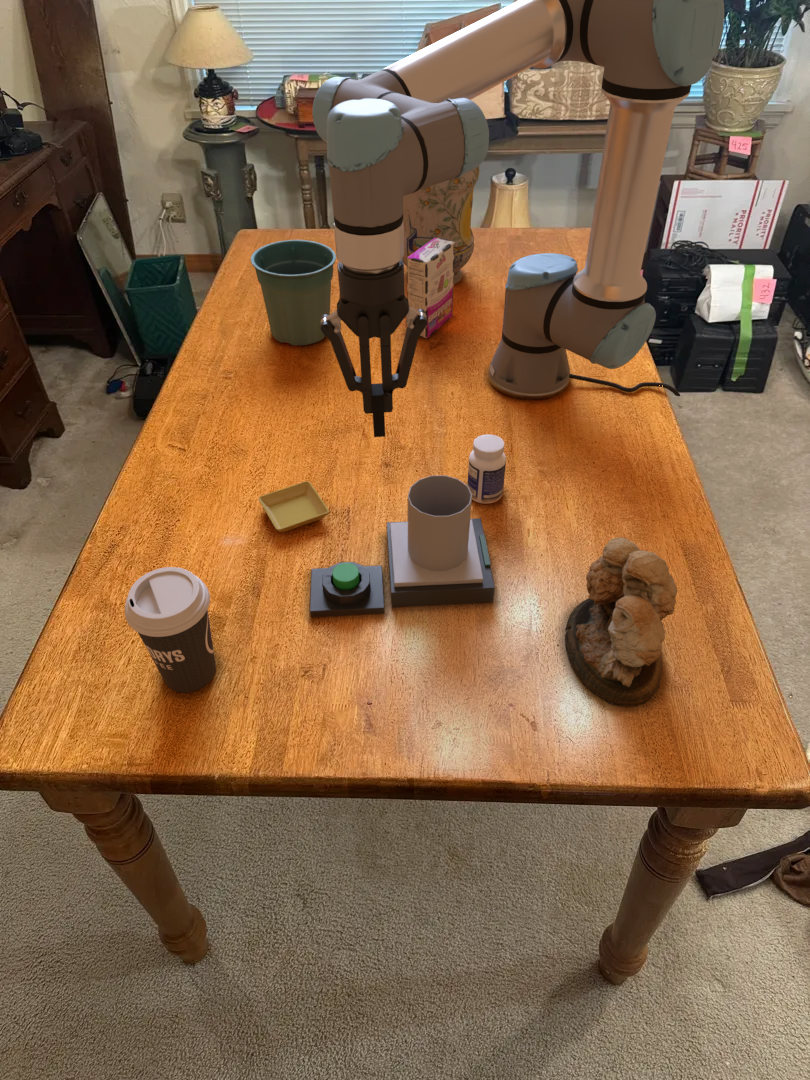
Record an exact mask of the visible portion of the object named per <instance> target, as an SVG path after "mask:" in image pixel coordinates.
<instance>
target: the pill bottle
mask: <svg viewBox="0 0 810 1080" xmlns="http://www.w3.org/2000/svg"><path fill="white" fill-rule="evenodd" d="M504 451H505V441H504V440H503V439H502V437H500V436H498V435H495V434H491V433H490V434H488V433H486V434H481V435H479V436H477V437H475V438H474V440H473V442H472V450H471V451H470V453H469V456H468V469H467V470H468V471H467V484H466V485H467V486H468V487H469V489H470V492H471V494H472V501H474V502H476V503H478V504H484V505H485V504H486V505H488V504H493V503H496V502H497V501H499V500H500V499H501V498H502V496H503V494H504V487H505V478H506V477H505V476H506V468H507V467H506V466H507V456H506V454H505V452H504Z"/></svg>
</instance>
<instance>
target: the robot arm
mask: <svg viewBox="0 0 810 1080" xmlns="http://www.w3.org/2000/svg"><path fill="white" fill-rule="evenodd" d="M724 26H725V3H724V0H513V2H512V3H511V4H510V5H507V6H505V7H504V8H502V9H500V10H498V11H495V12H493V13H491V14H490V15H488V16H486V17H484V18H482V19H480V20H477V21H476V22H474V23H471V24H470V25H467V26H466V27H463V28H462V29H460V30H458V31H455V32H454V33H452V34H450V35H447V36H445V37H444V38H442V39H440V40H438V41H436V42H434V43H432V44H429V45H428V46H425V47H424V48H422V49H420V50H418V51H416V52H414V53H412V54H410V55H408V56H406V57H403V58H402V59H400V60H398V61H396V62H394V63H392V64H390V65H388V66H386V67H384V68H382V69H380V70H378V71H376V72H373V73H371V74H369V75H367V76H364V77H362V78H360V79H355V78H354V77H351V76H333V77H330V78H328V79H327V80H325V81H324V82H323V83H322V84H321V86H319V88H318V90H317V91H316V94H315V95H314V99H313V103H312V111H311V112H312V113H311V114H312V121H313V126H314V129H315V131H316V133H317V134H318V136H319V138H320V139H321V140H322V141H323V142H325V143H326V159H327V164H328V172H329V173H328V174H329V183H330V194H331V203H332V215H333V231H334V232H333V233H334V243H335V254H336V260H337V261H338V263H337V267H336V268H337V278H338V290H339V299H338V300H337V303H336V309H335V310H334V311H333V312H330V315H327V314H324V315H322V316H321V331H322V333H323V334H324V335H325V338H326V339H328V341H329V342H330V345H331V347H332V350H333V352H334V356H335V358H336V360H337V363H338V365H339V368H340V371H341V373H342V376H343V379H344V382H345V384H346V387H347V390H348V391H350V392H356V391H357V392H360V393H361V394H362V406H363V407H362V408H363V412H364V415H367V414H368V415H369V414H372V426H373V427H372V428H373V438H385V437H386V420H385V413H392V412H393V409H394V402H393V401H394V399H393V393H394V391H395V390H396V389H405V388H406V387H407V384H408V381H409V378H410V377H409V376H410V373H411V370H412V364H413V361H414V357H415V353H416V350H417V346H418V341H419V338H420V334H421V333H422V332H423V330H424V329H425V327H426V326H427V318H426V313H425V311H424V310H423V309H419V310H416V309H414V308H412V307H410V306H409V302H408V297H407V296H406V294H405V293H406V292H405V291H406V290H405V286H406V285H405V264H404V261H403V260H402V258H403V256H404V231H403V199H404V196H405V195H408V194H411V193H414V192H416V191H418V190H421V189H424V188H427V187H430V186H433V185H436V184H439V183H442V182H445V181H448V180H451V179H457V178H459V177H461V175H463V174H465V173H467V172H469V171H471V170H474V169H476V168H477V167H478V166H479V167H480V165H482V164H483V162H484V160H485V158H486V156H487V155H488V151H489V144H490V129H489V124H488V121H487V118H486V116H485V114H484V112H483V110H482V109H481V107H480V106H479V105H478V104H477V103H476V102H475V101H473V100H474V99H475V98H477V97H479V96H480V95H482V94H484V93H486V92H488V91H490V90H492V89H493V88H495V87H497V86H499V85H501V84H503V83H504V82H507V81H508V80H510V79H512V78H514V77H516V76H518V75H519V74H521V73H523V72H525V71H526V70H528V69H530V68H534V69H535V68H536V69H547V68H549V67H551V66H553V65H555V64H556V63H559V62H580V63H585V64H586V63H587V64H591V65H594V66H599V67H602V68H603V73H602V80H601V92H602V94H603V95H604V96H605V97H606V100H608V102H609V109H608V117H607V122H606V128H605V136H604V142H603V149H602V155H601V159H600V160H601V161H600V167H599V172H598V173H599V174H598V181H597V186H596V187H597V188H596V193H595V199H594V207H593V213H592V219H591V226H590V232H589V239H588V243H587V244H588V245H587V251H586V258H585V264H584V268H583V269H581V270H580V271H579V267H578V262H577V260H576V259H575V258H573V257H572V256H570V255H567V254H562V253H555V252H543V253H534V254H529V255H526V256H523V257H520V258H519V259H517V260H515V261H513V263H512V264H511V265H510V266H509V269H508V273H507V278H506V284H505V286H504V287H505V288H504V289H505V292H504V305H503V317H502V329H501V330H502V331H501V339H500V341H499V343H498V345H497V347H496V350H495V352H494V354H493V356H492V358H491V361H490V364H489V367H488V381H489V383H490V384H491V386H492V387H493V388H494V389H496V390H497V391H498V392H500V393H502V394H503V395H505V396H509V397H511V398H514V399H519V400H526V401H539V400H546V399H551V398H553V397H557V396H558V395H560V394H561V393H563V392H564V391H565V390H567V388H568V386H569V383H570V379H572V380H577V381H583V382H588V383H591V384H592V383H593V384H598V385H603V386H607V387H611V388H614V389H617V390H619V391H622V392H624V393H633V392H636V391H638V390H639V389H640V388H644V387H656V388H663V389H666V390H668V391H670V392H671V393H672V394H673V395H674V396H675V397H681V394H680V392H679V391H678V390H677V389H676V388H675V387H674V386H672V385H670V384H667V383H665V382H656V381H653V382H652V381H651V382H650V381H647V382H646V381H645V382H639V383H637V384H636V385H635V386H632V387H626V386H623V385H620V384H618V383H615V382H611V381H608V380H603V379H598V378H593V377H589V376H583V375H577V374H572V373H571V370H570V365H569V358H568V353H567V351H569V352H571V353H573V354H575V355H577V356H580V357H582V358H583V359H585V360H587V361H589V362H590V363H591V364H593V365H598V366H600V367H603V368H606V369H609V370H616V369H619V368H621V367H623V366H625V365H627V364H628V363H629V362H630V361H632V360H633V359H634V358H635V356H636V355H637V354H639V352H640V351H641V349H643V347H644V345H645V344H646V342H647V341H648V339H649V337H650V335H651V333H652V331H653V328H654V326H655V322H656V319H657V318H656V317H657V313H656V310H655V307H653V305H651V303H649V302H645V299H646V294H647V290H648V283H647V281H646V279H645V278H644V277H643V275H641V271H642V267H643V261H644V256H645V252H646V247H647V243H648V239H649V233H650V227H651V224H652V218H653V214H654V209H655V204H656V199H657V194H658V190H659V185H660V181H661V176H662V170H663V166H664V161H665V156H666V152H667V148H668V142H669V137H670V134H671V127H672V122H673V118H674V114H675V110H676V108H677V106H678V105H679V104H681V102H683V101H684V100H685V99H687V98H688V97H689V96H690V94H691V89H692V85H695V84H698V82H700V81H701V80H702V79H703V78H704V77H705V76H706V75H707V74H708V72H709V71H710V69H711V67H712V65H713V59H715V58H716V57H717V55H718V52H719V49H720V45H721V42H722V38H723V33H724ZM405 318H406V319H405ZM404 319H405V323H406V330H405V335H404V338H403V341H402V346H401V351H400V355H399V359H398V363H397V367H396V371H395V373H393V369H392V366H393V365H392V338H391V335H393V334H394V333H395V332H396V330H397V329H398V328H399V326H400V325H401V324H402V323H403V321H404ZM342 322H343V323H344V324H345V325H346V327H347V328H348V329H349V330H350V331H351V332H352V333H353V334H354V335H355V336H356V337H358V346H359V359H360V360H359V362H360V376H359V375H357V373H356V370H355V368H354V365H353V362H352V359H351V356H350V353H349V350H348V348H347V345H346V342H345V340H344V336H343V334H342ZM373 338H378V339H379V349H380V367H381V368H380V369H381V382H379V383H372V370H371V369H372V367H371V351H370V350H371V348H370V339H373ZM659 385H660V386H659ZM662 385H663V387H662Z"/></svg>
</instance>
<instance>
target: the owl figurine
mask: <svg viewBox="0 0 810 1080" xmlns="http://www.w3.org/2000/svg"><path fill="white" fill-rule="evenodd" d="M588 568H589V570H588V571H587V573H586V575H585V580H586V590H587V593H588V594H589V595H588V598H586V599H585V600H583V601H581V602H580V603H578V605H576V607H574V609H573V610H572V611H571V612H570V615H569V617H568V618H567V621H566V625H565V631H564V632H566V633H565V634H564V644H565V651H566V654H567V657H568V660H569V663H570V665H571V667H572V669H573V672H574V673H575V674H576V676H577V677H578V678H579V680H580V681H581V683H582V684H583V686H585V687H586V688H587V689H588V690H589V691H590V692H591V693H593V695H596V696H598V697H600V698H602V699H603V700H604V701H605V702H607V703H608V704H611V705H614V706H621V707H634V706H635V707H637V706H640V705H643V704H646V703H647V702H649V700H651V699H652V698H653V697H654V696H655V694H656V693H657V691H658V689H659V688H660V685H661V681H662V676H663V668H664V667H663V658H662V657H663V656H662V652H661V651H662V649H663V642H664V641H665V639H666V629H665V627H664V623H663V622H662V621H663V619H665V618H667V617H668V616H671V615H673V614H674V613H675V606H676V604H677V599H676V597H677V595H678V592H679V591H678V586H677V584H676V582H675V579H674V577H673V575H672V574H671V573H670V568H669V566H668V564H667V561H666V560H665V559H664V558H662V557H660V556H659V555H658V554H657V553H656V552H654V551H650V550H649V551H648V550H643V549H640V547H639V546H638V545H637V544H636V543H635V542H633V541H631V540H630V539H628V538H626V537H622V536H618V537H614V538H611V539H609V540H608V542H607V543H606V544H605V545H604V547H603V548H602V555H600V556H599V557H598V558H597V559H596V560H594V561H593V562H592V563H591V564H590V565H589V567H588Z"/></svg>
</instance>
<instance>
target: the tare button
mask: <svg viewBox="0 0 810 1080" xmlns="http://www.w3.org/2000/svg"><path fill="white" fill-rule="evenodd" d="M332 575H333V583H334V585H335V587H336V588H338V589H340V590H351V589H353V588H355V587H356V586H357V585H358V584H359V570H358V568H357V567H356V566H355V565H354V564H351V563H342V564H339V565H337V566H336V567H335V568H334V569H333V572H332Z"/></svg>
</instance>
